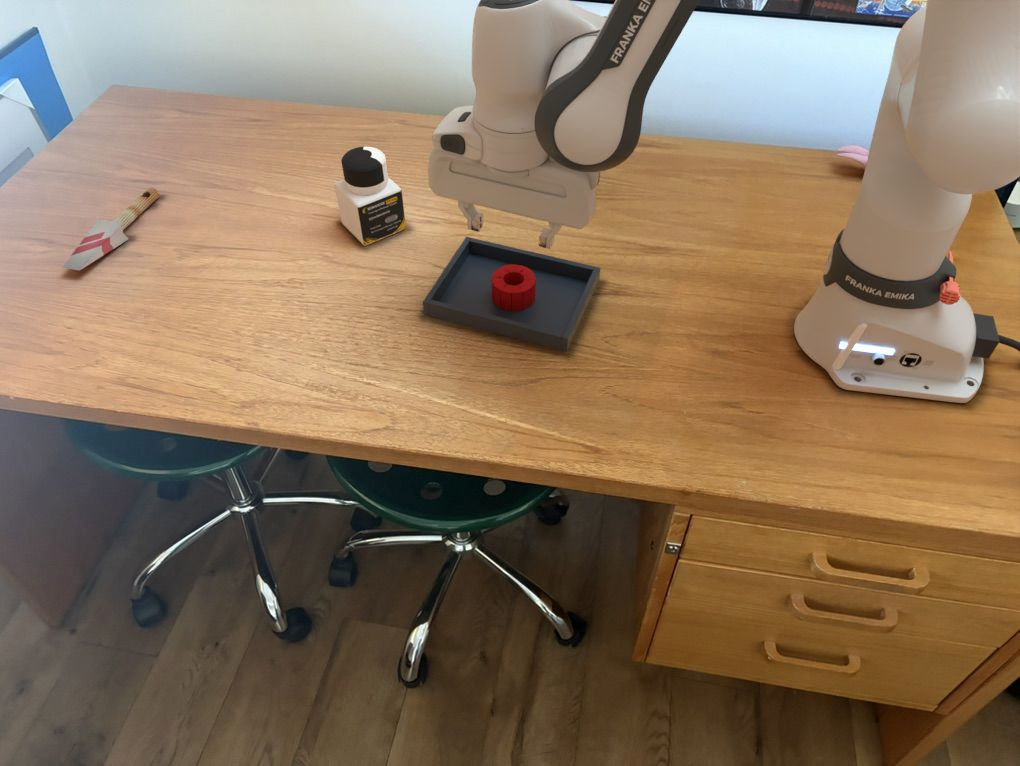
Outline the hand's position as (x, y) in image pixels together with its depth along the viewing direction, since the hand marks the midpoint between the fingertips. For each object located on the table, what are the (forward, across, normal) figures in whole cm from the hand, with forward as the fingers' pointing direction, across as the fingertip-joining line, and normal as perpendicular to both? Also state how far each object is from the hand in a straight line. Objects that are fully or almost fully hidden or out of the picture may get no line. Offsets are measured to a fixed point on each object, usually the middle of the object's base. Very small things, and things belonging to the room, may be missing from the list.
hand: (510, 236), depth 99 cm
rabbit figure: (+10, -45, -48) cm, 67 cm away
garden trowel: (+12, +58, +7) cm, 60 cm away
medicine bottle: (+11, +24, -8) cm, 28 cm away
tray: (+10, -1, 0) cm, 10 cm away
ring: (+10, -1, 0) cm, 10 cm away
